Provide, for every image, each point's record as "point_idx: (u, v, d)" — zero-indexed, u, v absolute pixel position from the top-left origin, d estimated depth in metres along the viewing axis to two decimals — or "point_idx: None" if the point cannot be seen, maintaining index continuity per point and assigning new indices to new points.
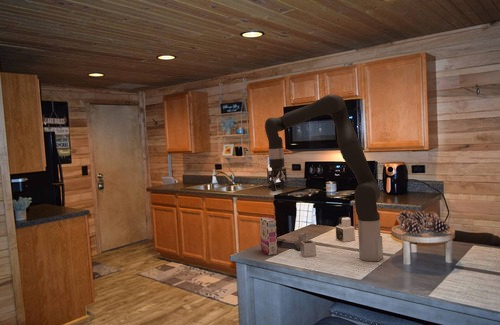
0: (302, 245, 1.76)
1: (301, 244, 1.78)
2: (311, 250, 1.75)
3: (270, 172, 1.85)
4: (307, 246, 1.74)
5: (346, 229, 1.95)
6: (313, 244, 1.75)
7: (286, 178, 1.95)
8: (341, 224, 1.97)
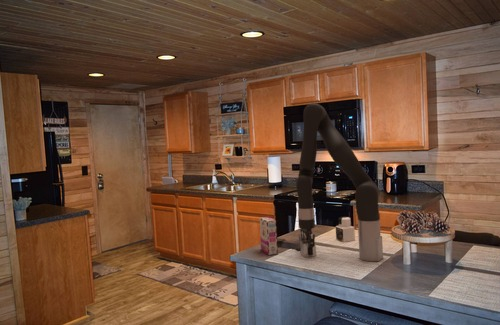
0: (302, 245, 1.76)
1: (301, 244, 1.78)
2: None
3: (312, 236, 1.70)
4: None
5: (346, 229, 1.95)
6: None
7: None
8: (341, 224, 1.97)
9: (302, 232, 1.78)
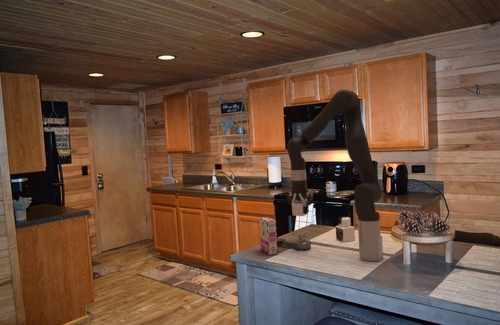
0: (298, 206, 1.84)
1: (295, 205, 1.85)
2: None
3: (312, 194, 1.83)
4: None
5: (346, 229, 1.95)
6: None
7: None
8: (341, 224, 1.97)
9: (295, 194, 1.85)
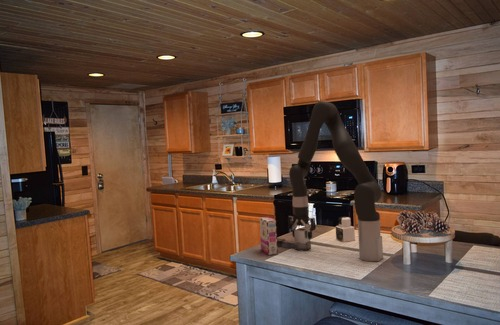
0: (300, 233, 1.85)
1: (297, 232, 1.86)
2: (307, 236, 1.87)
3: (314, 219, 1.83)
4: (306, 233, 1.85)
5: (346, 229, 1.95)
6: None
7: None
8: (341, 224, 1.97)
9: (297, 220, 1.86)
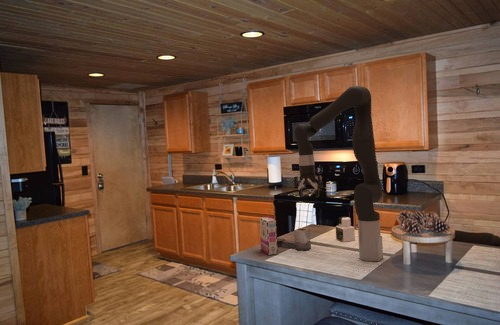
0: (300, 233, 1.85)
1: (297, 232, 1.86)
2: (307, 236, 1.87)
3: (320, 177, 1.83)
4: (306, 233, 1.85)
5: (346, 229, 1.95)
6: (308, 230, 1.87)
7: None
8: (341, 224, 1.97)
9: (304, 179, 1.86)
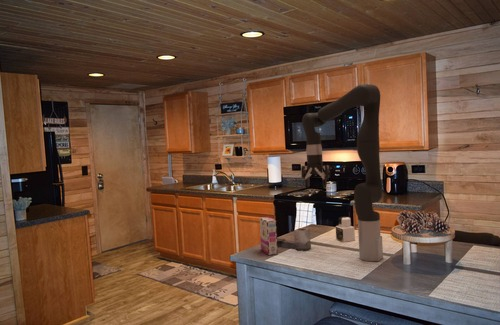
0: (300, 233, 1.85)
1: (297, 232, 1.86)
2: (307, 236, 1.87)
3: (328, 167, 1.84)
4: (306, 233, 1.85)
5: (346, 229, 1.95)
6: (308, 230, 1.87)
7: None
8: (341, 224, 1.97)
9: (311, 168, 1.86)
